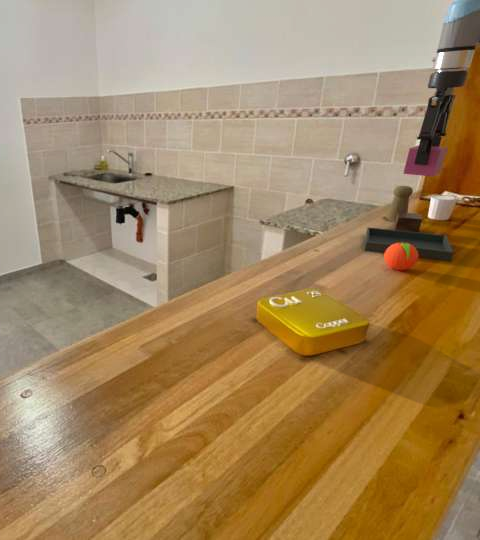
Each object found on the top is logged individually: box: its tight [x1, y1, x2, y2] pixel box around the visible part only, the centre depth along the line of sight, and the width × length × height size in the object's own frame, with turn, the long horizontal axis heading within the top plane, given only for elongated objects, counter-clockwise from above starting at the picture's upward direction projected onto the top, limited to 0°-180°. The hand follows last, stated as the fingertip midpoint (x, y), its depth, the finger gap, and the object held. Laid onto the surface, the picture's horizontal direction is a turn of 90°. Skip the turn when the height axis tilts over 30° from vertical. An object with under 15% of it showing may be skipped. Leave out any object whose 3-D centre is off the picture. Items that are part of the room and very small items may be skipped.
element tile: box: [255, 288, 370, 357], centre depth 74 cm, size 15×15×5 cm
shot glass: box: [427, 195, 458, 221], centre depth 129 cm, size 7×7×7 cm
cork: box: [385, 185, 414, 221], centre depth 130 cm, size 6×6×11 cm
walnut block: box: [393, 212, 423, 233], centre depth 120 cm, size 6×6×5 cm
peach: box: [383, 242, 419, 271], centre depth 95 cm, size 8×7×7 cm
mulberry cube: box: [403, 145, 449, 177], centre depth 107 cm, size 7×7×7 cm
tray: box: [363, 227, 454, 262], centre depth 108 cm, size 19×14×3 cm
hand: (424, 162), depth 107 cm, fingers closed on mulberry cube, 7 cm apart
